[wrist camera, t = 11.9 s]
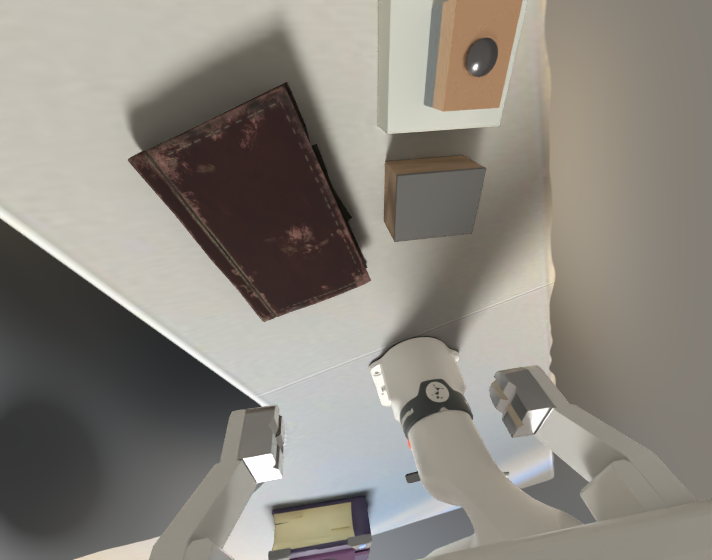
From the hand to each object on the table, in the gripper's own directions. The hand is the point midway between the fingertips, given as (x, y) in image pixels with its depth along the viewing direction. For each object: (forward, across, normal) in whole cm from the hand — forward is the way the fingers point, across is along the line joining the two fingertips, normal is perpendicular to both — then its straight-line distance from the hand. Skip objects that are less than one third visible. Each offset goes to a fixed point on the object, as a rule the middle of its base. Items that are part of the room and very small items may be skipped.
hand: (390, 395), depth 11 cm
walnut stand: (+31, -12, +4) cm, 33 cm away
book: (+32, +15, +132) cm, 137 cm away
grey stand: (+31, -12, -10) cm, 35 cm away
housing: (+26, -12, -10) cm, 30 cm away
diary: (+32, +8, +6) cm, 33 cm away
